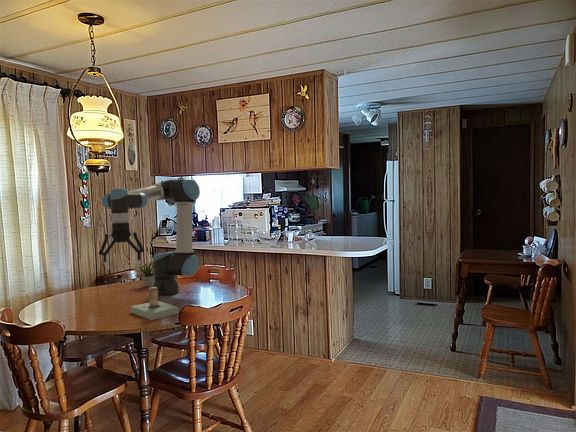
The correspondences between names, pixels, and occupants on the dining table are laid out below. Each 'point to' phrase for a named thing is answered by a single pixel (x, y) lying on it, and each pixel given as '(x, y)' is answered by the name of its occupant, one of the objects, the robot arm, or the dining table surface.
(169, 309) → the seat plank
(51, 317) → the dining table surface
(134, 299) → the dining table surface
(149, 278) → the house plant
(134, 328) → the dining table surface
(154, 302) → the peg
